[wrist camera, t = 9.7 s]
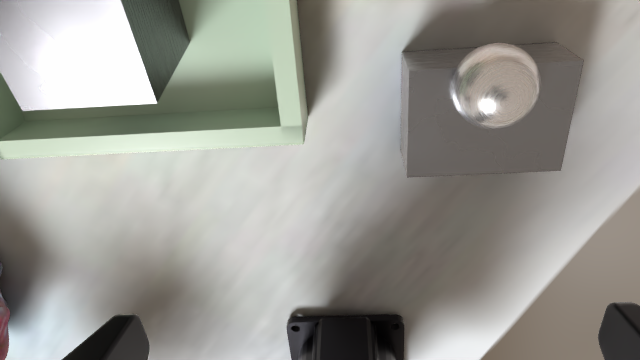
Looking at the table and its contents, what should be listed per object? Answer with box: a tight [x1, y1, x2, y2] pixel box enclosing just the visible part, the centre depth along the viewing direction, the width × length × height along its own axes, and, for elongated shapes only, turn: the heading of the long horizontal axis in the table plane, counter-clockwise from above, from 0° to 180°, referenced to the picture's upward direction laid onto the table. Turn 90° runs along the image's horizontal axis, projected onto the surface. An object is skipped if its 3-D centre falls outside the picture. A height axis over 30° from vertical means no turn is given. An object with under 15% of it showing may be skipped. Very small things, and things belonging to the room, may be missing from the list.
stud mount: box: [401, 42, 584, 177], centre depth 18 cm, size 5×6×4 cm
